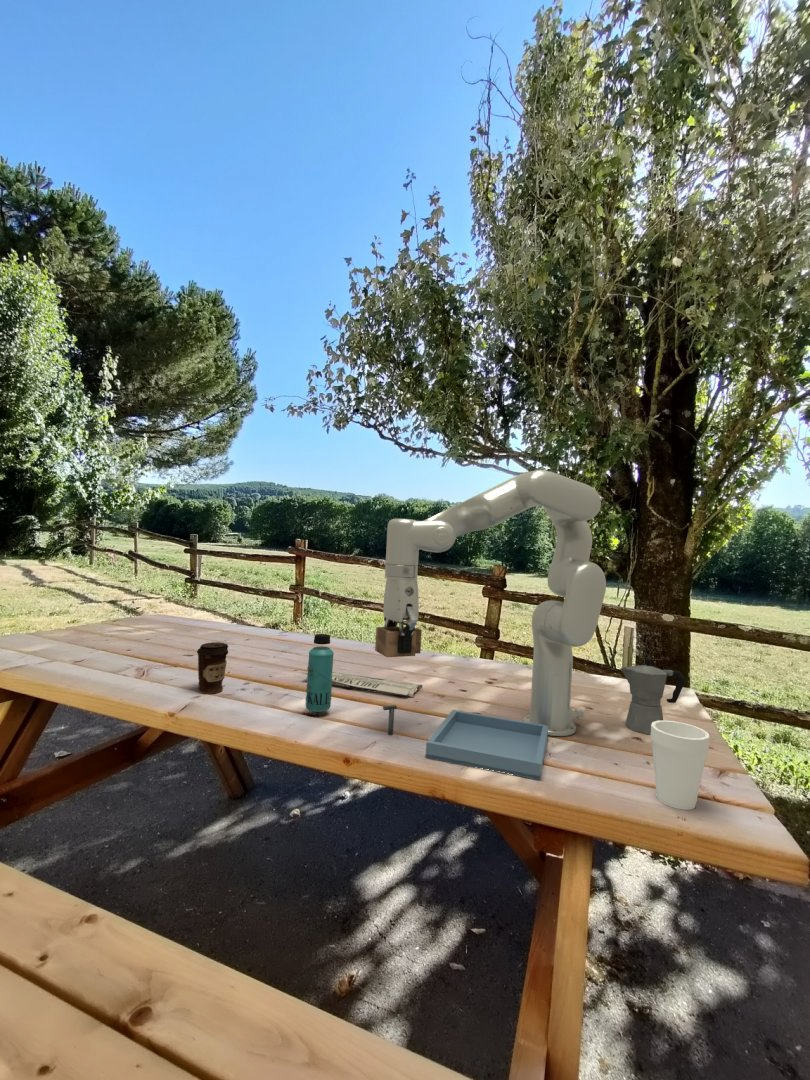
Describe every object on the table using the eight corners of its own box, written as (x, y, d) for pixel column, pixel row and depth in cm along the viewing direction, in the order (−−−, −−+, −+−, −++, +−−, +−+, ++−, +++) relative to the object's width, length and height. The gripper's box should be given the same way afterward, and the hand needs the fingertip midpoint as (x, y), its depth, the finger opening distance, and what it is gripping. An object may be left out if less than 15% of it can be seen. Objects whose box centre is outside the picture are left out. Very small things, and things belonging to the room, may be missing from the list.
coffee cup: (233, 691, 143) (236, 644, 143) (208, 697, 136) (211, 649, 136) (213, 684, 148) (216, 640, 148) (188, 691, 141) (190, 644, 141)
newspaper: (422, 690, 156) (422, 678, 156) (410, 702, 144) (411, 689, 144) (317, 675, 166) (318, 664, 166) (298, 685, 154) (299, 673, 154)
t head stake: (393, 732, 119) (394, 704, 119) (395, 734, 118) (396, 706, 118) (381, 734, 117) (382, 705, 117) (383, 736, 116) (385, 707, 116)
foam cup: (639, 785, 98) (643, 718, 98) (690, 790, 98) (693, 722, 98) (659, 811, 89) (664, 737, 89) (715, 817, 88) (719, 742, 88)
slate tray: (452, 722, 128) (453, 709, 128) (547, 739, 120) (548, 725, 120) (425, 757, 106) (426, 742, 106) (539, 780, 98) (540, 764, 98)
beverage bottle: (318, 707, 133) (323, 631, 133) (336, 714, 129) (340, 635, 129) (299, 713, 128) (303, 633, 128) (316, 720, 124) (321, 637, 124)
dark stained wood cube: (411, 648, 123) (412, 626, 123) (424, 655, 117) (426, 631, 117) (375, 650, 119) (376, 627, 119) (386, 657, 113) (388, 632, 113)
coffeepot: (619, 731, 128) (623, 659, 128) (614, 719, 137) (617, 652, 137) (687, 740, 124) (691, 666, 124) (677, 727, 133) (681, 658, 133)
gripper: (433, 575, 112) (429, 657, 112) (400, 569, 127) (396, 641, 127) (402, 575, 109) (398, 658, 108) (372, 569, 124) (368, 642, 124)
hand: (397, 648), depth 118 cm, fingers closed on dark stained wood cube, 6 cm apart
